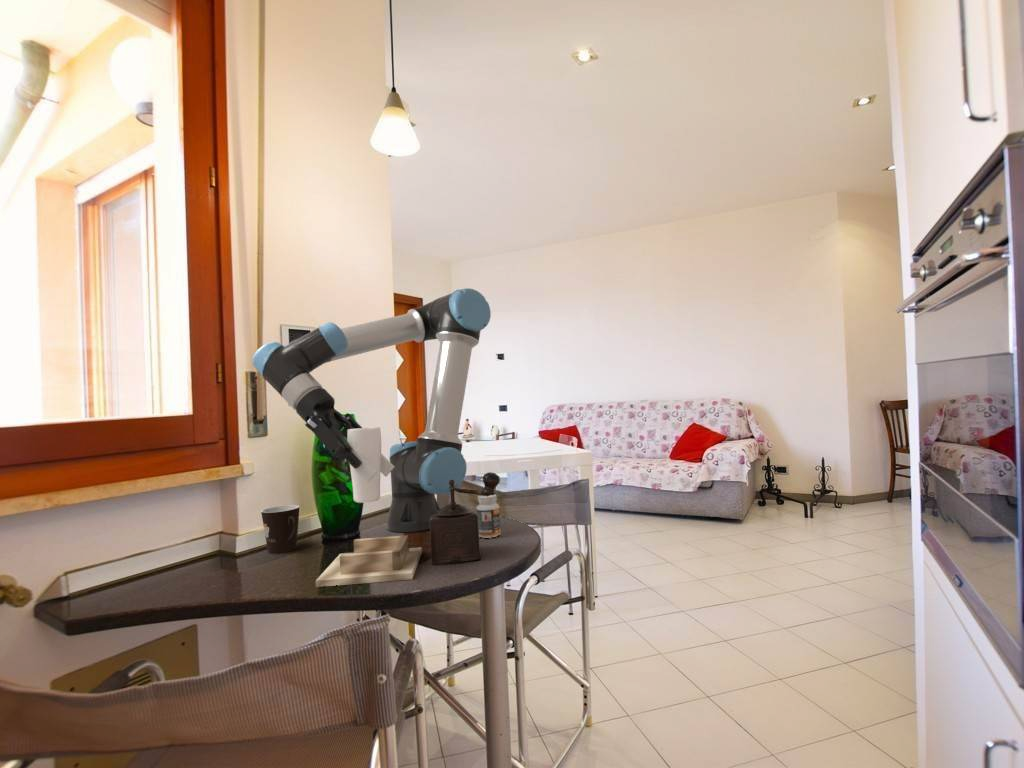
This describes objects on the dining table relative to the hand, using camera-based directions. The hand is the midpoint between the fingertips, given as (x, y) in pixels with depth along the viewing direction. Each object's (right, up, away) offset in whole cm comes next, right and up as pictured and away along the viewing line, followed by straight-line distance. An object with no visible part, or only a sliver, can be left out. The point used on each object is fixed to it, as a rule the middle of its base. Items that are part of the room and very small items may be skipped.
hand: (381, 474), depth 108 cm
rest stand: (-2, -20, +1) cm, 20 cm away
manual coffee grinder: (+17, -19, +6) cm, 26 cm away
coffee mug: (-29, -22, +19) cm, 40 cm away
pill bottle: (+21, -19, +21) cm, 36 cm away
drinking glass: (-3, -6, +1) cm, 7 cm away
